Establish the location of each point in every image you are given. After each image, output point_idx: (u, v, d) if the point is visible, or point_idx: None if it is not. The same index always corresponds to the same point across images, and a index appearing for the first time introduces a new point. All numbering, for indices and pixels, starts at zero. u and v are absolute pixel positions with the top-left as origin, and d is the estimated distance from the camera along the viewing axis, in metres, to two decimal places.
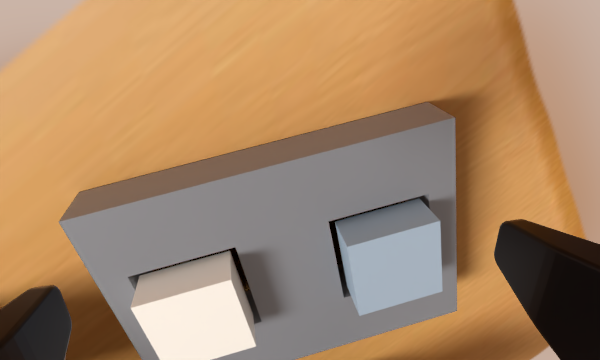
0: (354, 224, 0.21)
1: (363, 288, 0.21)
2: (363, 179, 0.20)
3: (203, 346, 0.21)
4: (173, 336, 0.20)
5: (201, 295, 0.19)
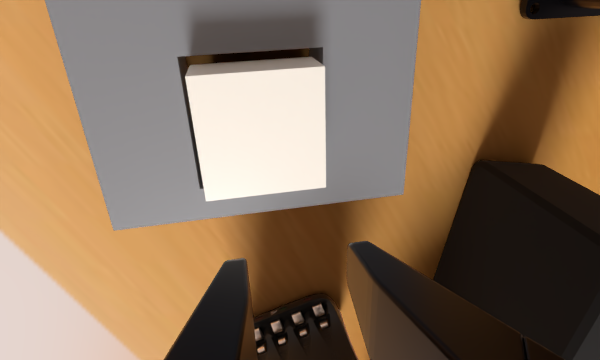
0: None
1: None
2: None
3: (297, 136, 0.15)
4: (266, 168, 0.16)
5: (205, 120, 0.14)
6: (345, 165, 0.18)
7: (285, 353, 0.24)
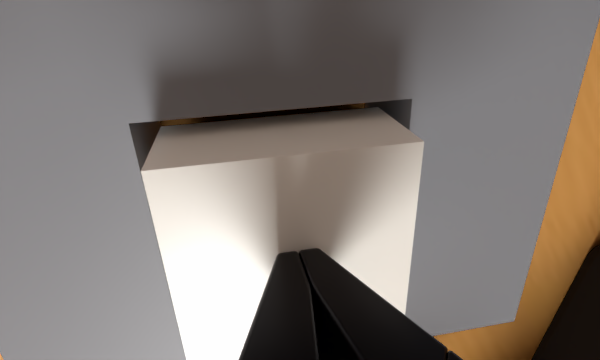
0: None
1: None
2: None
3: (360, 264, 0.08)
4: None
5: (185, 248, 0.07)
6: (430, 288, 0.11)
7: None
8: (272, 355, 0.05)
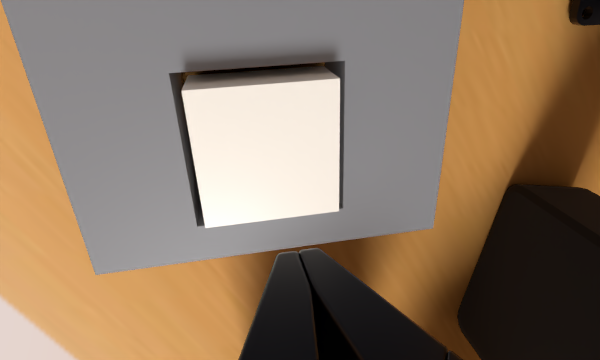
0: None
1: None
2: None
3: (307, 156, 0.14)
4: (272, 191, 0.14)
5: (204, 139, 0.13)
6: (368, 197, 0.16)
7: None
8: (272, 355, 0.05)
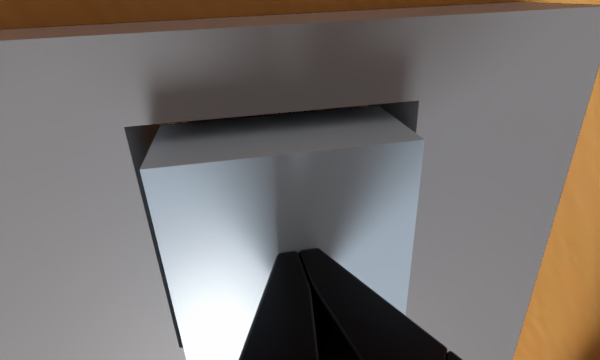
0: None
1: None
2: (67, 290, 0.08)
3: None
4: None
5: None
6: None
7: None
8: (272, 355, 0.05)
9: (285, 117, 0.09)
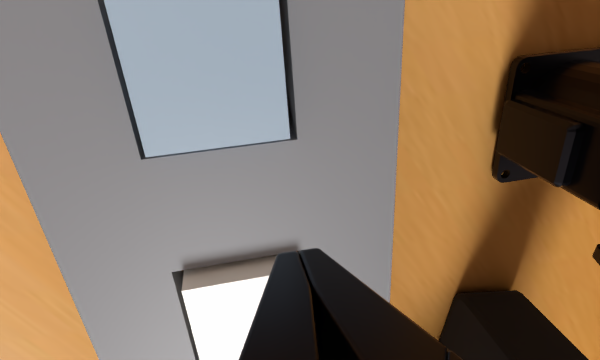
0: None
1: (233, 133, 0.13)
2: (61, 104, 0.13)
3: None
4: None
5: (199, 318, 0.17)
6: None
7: None
8: (272, 355, 0.05)
9: None
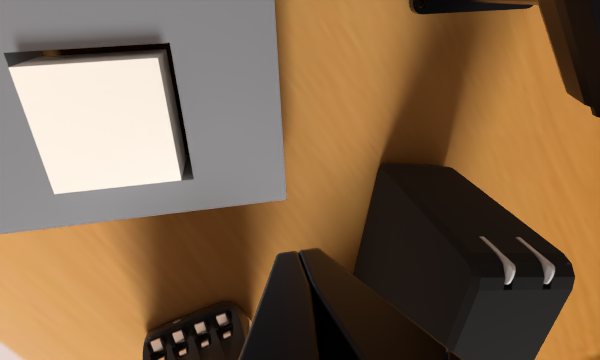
0: None
1: None
2: None
3: (141, 129, 0.15)
4: (113, 160, 0.15)
5: (38, 112, 0.14)
6: (216, 169, 0.17)
7: None
8: (272, 355, 0.05)
9: None
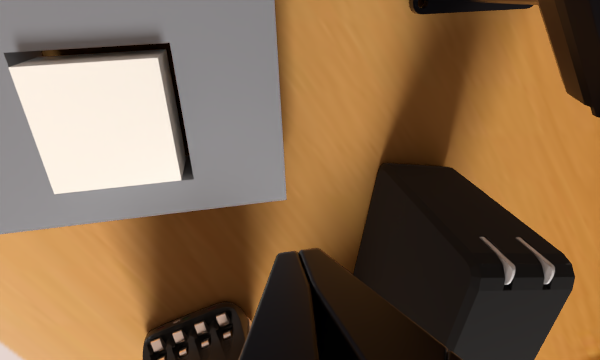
0: None
1: None
2: None
3: (141, 129, 0.15)
4: (113, 160, 0.15)
5: (38, 112, 0.14)
6: (216, 169, 0.17)
7: None
8: (272, 355, 0.05)
9: None
